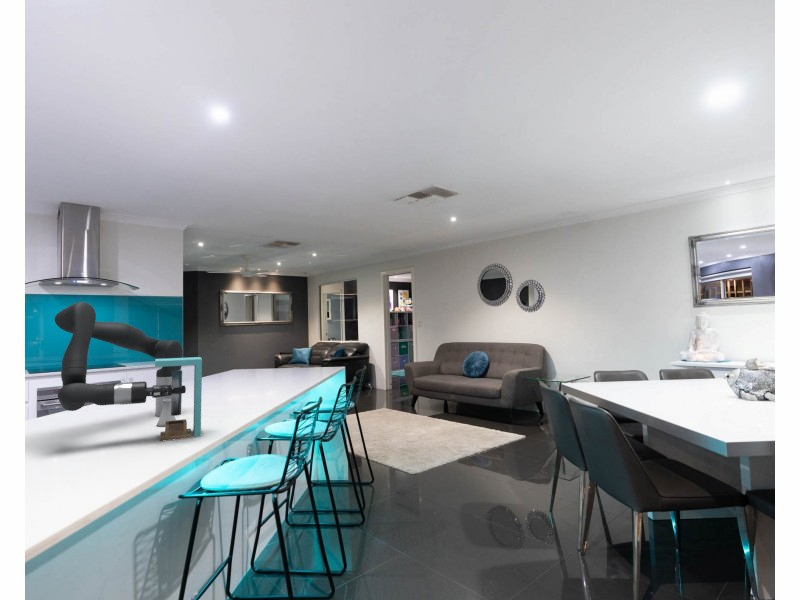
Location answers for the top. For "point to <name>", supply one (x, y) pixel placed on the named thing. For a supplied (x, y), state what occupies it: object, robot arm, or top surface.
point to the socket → (175, 430)
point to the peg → (176, 398)
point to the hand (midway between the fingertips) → (185, 389)
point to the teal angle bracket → (197, 384)
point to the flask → (166, 413)
